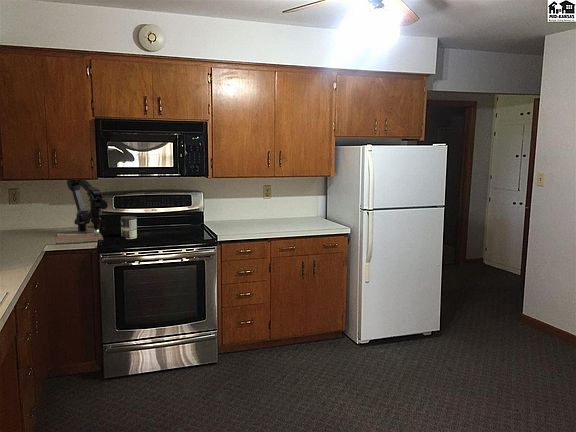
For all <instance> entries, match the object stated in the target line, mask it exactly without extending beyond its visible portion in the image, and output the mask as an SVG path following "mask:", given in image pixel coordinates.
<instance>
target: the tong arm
mask: <svg viewBox="0 0 576 432" xmlns="http://www.w3.org/2000/svg"><path fill="white" fill-rule="evenodd" d="M84 233H85V234H77V233H65V234H66V235H65V237H70V236H89V235H100V234H101V233H100V229H99V228H97V229H94V230H93V232H84Z"/></svg>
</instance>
